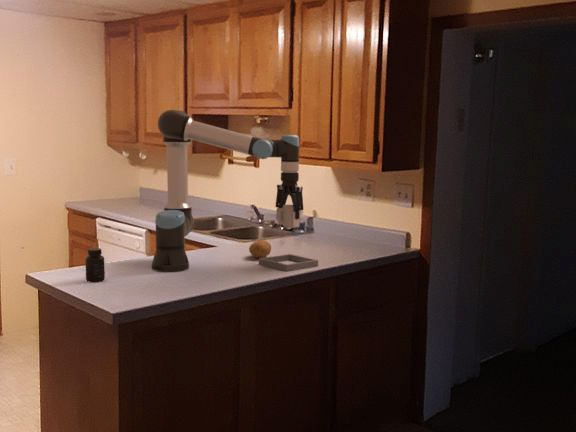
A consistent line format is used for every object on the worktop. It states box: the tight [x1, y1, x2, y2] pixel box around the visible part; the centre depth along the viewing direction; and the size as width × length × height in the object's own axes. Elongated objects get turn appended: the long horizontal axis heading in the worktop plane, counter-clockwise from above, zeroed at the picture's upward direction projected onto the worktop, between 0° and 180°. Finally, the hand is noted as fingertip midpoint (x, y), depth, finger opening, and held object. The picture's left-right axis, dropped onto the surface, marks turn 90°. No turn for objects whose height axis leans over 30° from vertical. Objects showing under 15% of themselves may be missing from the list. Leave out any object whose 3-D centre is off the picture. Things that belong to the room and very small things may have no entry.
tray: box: [258, 253, 319, 272], centre depth 280 cm, size 18×18×2 cm
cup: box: [275, 204, 301, 229], centre depth 277 cm, size 7×10×9 cm
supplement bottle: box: [85, 247, 106, 283], centre depth 244 cm, size 7×7×12 cm
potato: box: [248, 239, 272, 259], centre depth 295 cm, size 10×14×8 cm
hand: (288, 225), depth 277 cm, fingers closed on cup, 8 cm apart
